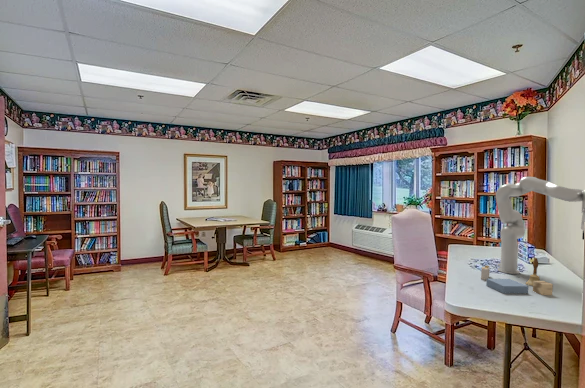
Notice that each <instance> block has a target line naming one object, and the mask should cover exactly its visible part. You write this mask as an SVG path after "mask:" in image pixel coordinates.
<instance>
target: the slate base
mask: <svg viewBox="0 0 585 388" xmlns="http://www.w3.org/2000/svg"><path fill="white" fill-rule="evenodd" d="M486 286H487V287H489V288H491V289H493V290H495V291H497V292H500V293H501V294H510V293H528V294H529V285H527V284H524V283H521V282H518V281H516V280H515V279H514V280H513V279H511V278H488V279H487V280H486Z"/></svg>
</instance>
